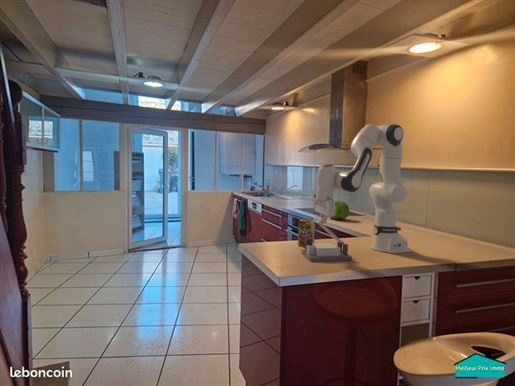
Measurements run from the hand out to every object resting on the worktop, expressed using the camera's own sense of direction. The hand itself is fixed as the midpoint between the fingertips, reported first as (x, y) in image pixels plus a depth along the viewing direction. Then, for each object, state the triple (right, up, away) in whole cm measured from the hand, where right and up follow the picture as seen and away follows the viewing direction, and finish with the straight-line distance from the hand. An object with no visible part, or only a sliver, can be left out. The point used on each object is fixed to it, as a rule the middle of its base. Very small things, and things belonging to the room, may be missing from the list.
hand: (323, 222), depth 164 cm
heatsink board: (+2, -18, +2) cm, 18 cm away
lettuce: (+39, -9, +130) cm, 136 cm away
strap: (+3, -6, +1) cm, 6 cm away
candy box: (-5, -16, +24) cm, 29 cm away
